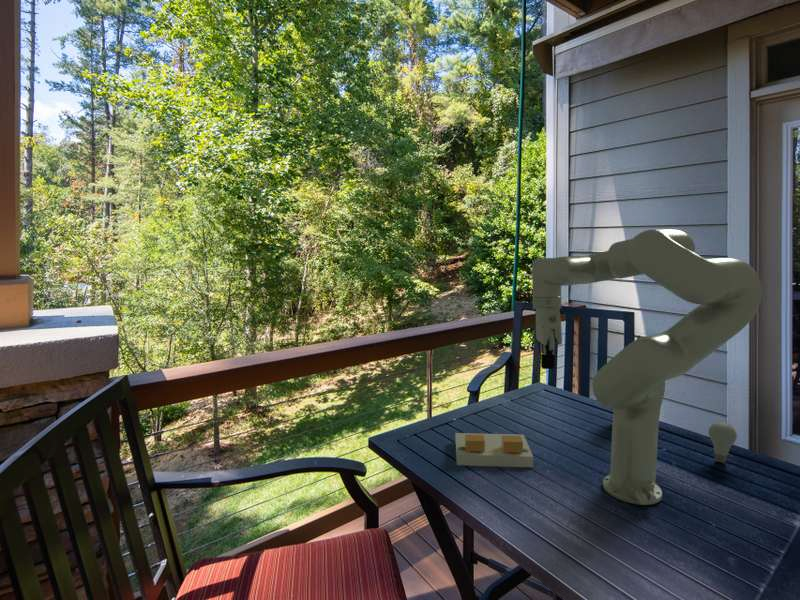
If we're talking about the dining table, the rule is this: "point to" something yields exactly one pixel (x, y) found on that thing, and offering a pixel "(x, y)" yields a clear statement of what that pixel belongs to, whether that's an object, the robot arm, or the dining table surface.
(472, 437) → the left tab
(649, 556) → the dining table surface
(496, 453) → the switch panel
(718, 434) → the lightbulb
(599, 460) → the dining table surface
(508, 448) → the right tab
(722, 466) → the dining table surface
